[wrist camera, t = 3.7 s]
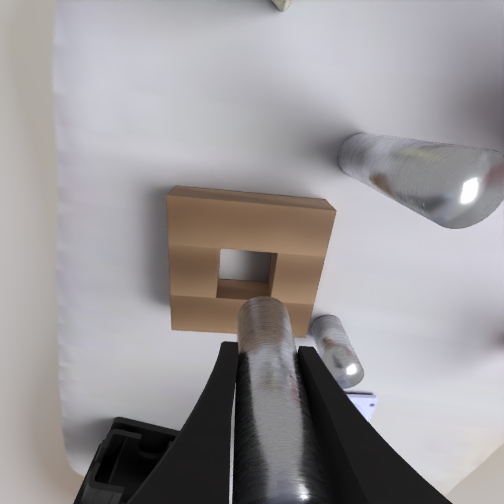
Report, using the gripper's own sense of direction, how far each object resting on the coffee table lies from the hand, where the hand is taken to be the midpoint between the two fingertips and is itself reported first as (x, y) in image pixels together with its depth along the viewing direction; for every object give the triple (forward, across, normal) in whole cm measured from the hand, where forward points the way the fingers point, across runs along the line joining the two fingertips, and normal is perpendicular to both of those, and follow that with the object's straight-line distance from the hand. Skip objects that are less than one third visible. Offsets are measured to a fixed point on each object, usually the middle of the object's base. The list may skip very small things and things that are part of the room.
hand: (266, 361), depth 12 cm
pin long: (+10, -6, -8) cm, 14 cm away
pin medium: (+3, 0, 0) cm, 3 cm away
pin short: (+10, -7, +6) cm, 13 cm away
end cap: (+10, +9, +24) cm, 28 cm away
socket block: (+10, +1, 0) cm, 10 cm away
